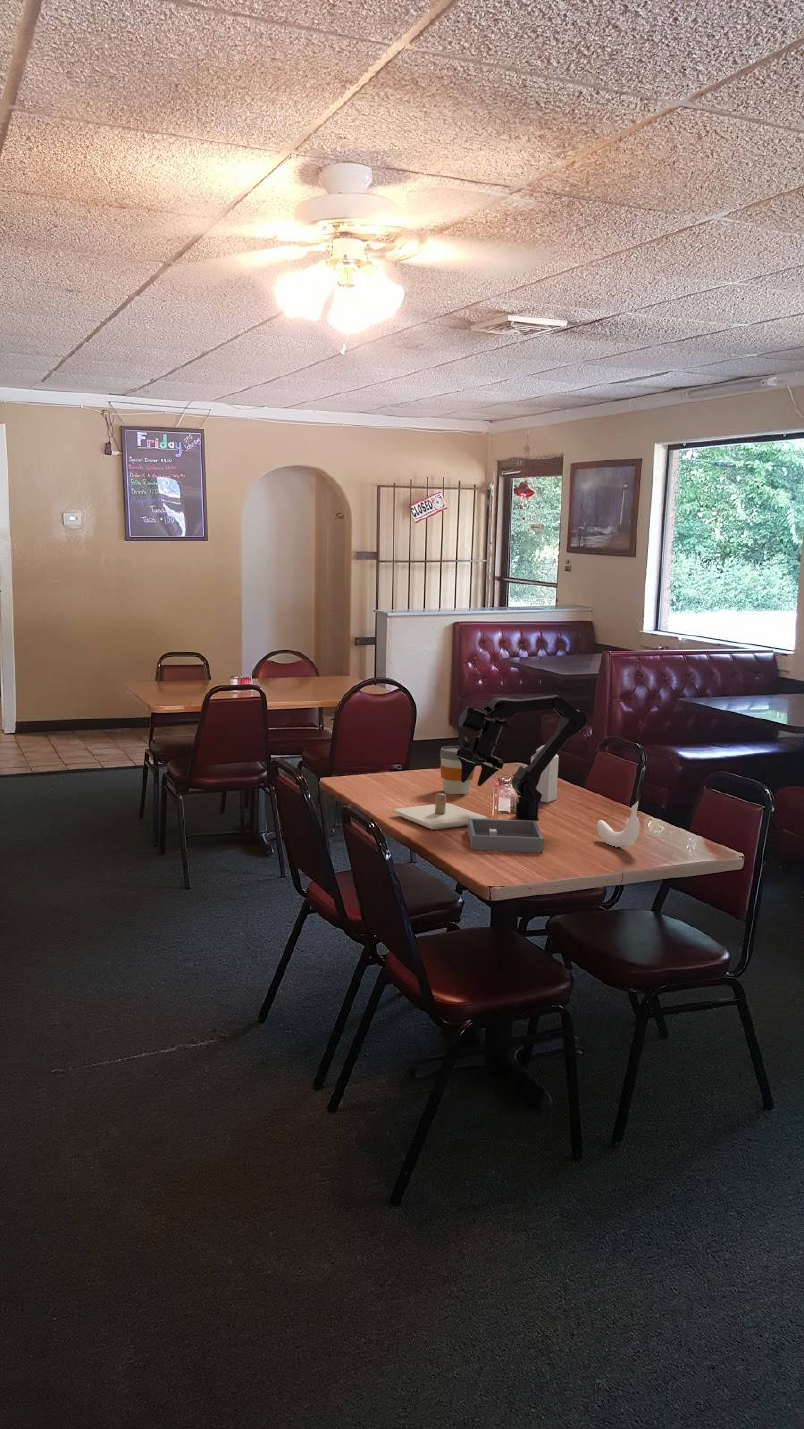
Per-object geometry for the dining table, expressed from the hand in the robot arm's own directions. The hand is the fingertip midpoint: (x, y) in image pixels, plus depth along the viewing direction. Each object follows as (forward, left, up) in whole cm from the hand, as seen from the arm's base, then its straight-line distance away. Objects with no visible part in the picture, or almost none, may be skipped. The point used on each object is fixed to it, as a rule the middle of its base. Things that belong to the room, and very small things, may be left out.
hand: (470, 784), depth 332 cm
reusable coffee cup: (+2, -38, -11) cm, 39 cm away
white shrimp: (-41, +25, -11) cm, 49 cm away
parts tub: (-9, +25, -11) cm, 29 cm away
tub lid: (+9, +3, -11) cm, 15 cm away
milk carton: (-27, -31, -11) cm, 42 cm away
